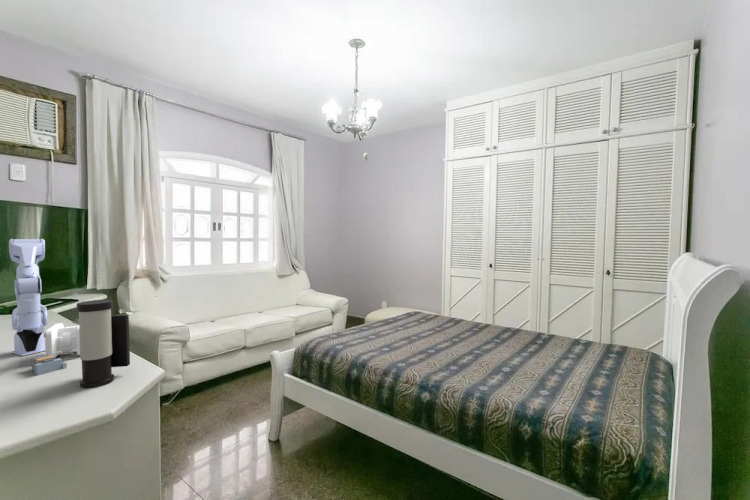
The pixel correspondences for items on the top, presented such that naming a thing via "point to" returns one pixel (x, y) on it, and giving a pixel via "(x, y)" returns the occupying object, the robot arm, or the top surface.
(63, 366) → the rail
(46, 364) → the end clamp
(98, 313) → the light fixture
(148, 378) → the top surface
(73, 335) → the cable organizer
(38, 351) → the robot arm
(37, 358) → the module
